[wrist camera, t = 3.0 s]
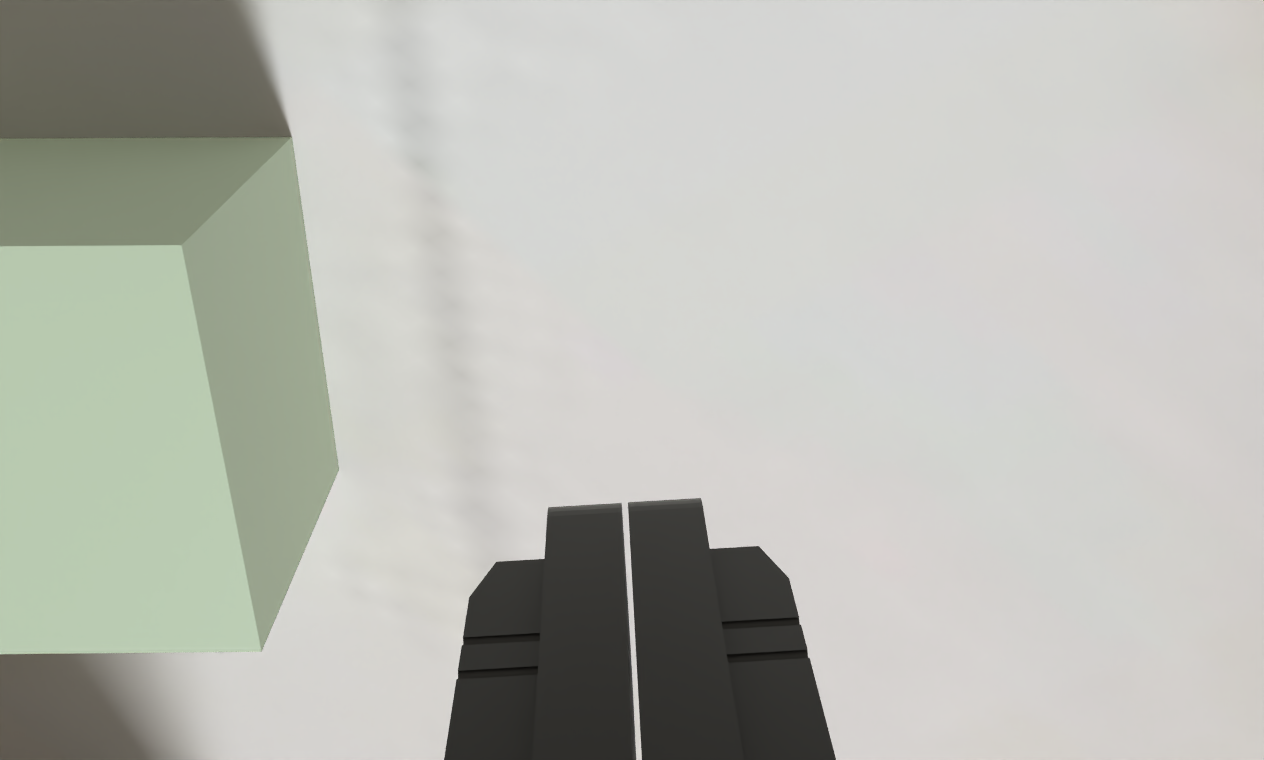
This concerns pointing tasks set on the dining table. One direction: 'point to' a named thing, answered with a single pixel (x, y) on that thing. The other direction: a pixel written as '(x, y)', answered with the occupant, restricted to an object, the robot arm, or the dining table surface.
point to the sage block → (155, 393)
